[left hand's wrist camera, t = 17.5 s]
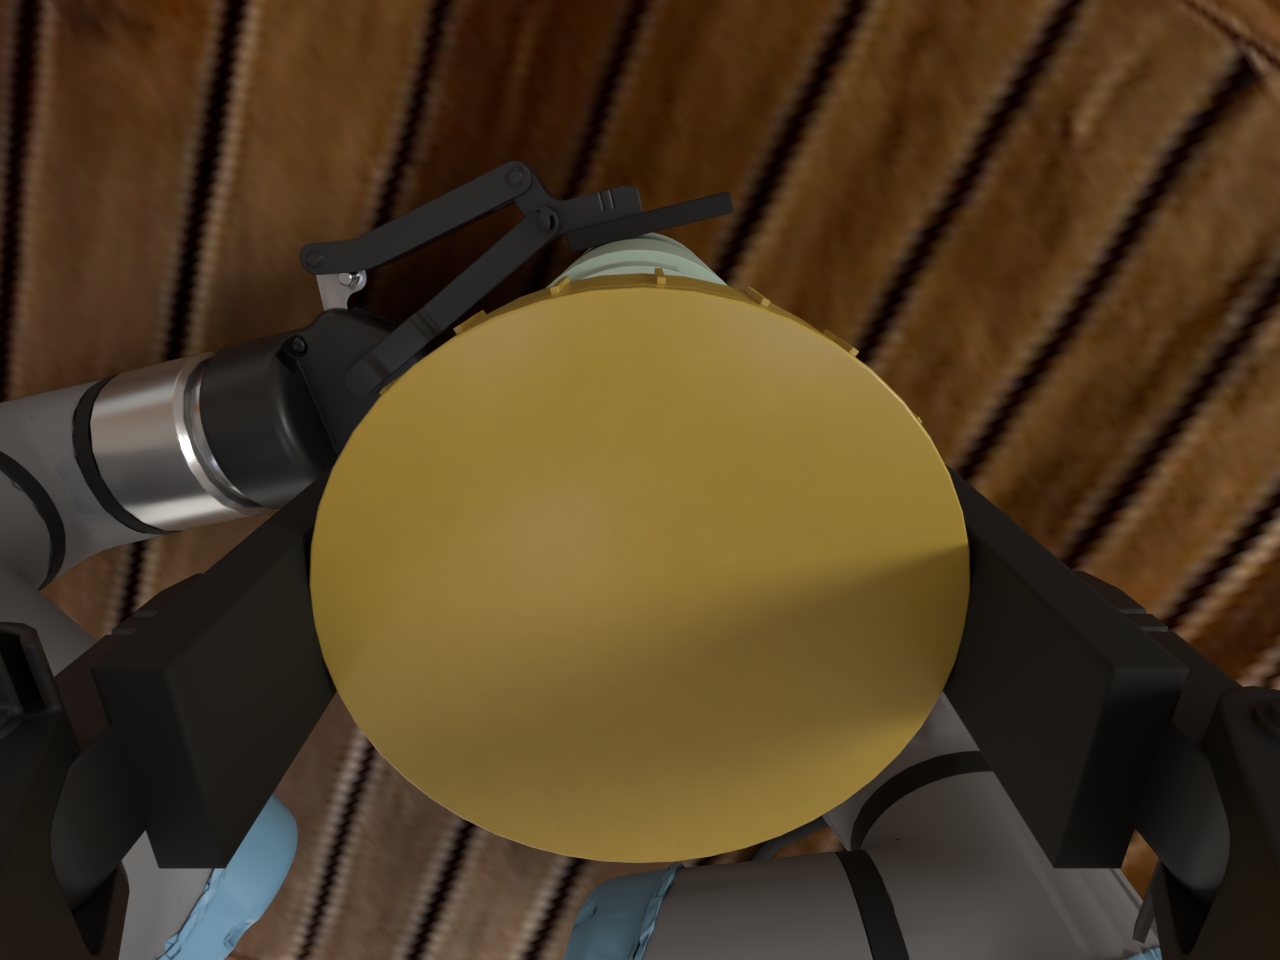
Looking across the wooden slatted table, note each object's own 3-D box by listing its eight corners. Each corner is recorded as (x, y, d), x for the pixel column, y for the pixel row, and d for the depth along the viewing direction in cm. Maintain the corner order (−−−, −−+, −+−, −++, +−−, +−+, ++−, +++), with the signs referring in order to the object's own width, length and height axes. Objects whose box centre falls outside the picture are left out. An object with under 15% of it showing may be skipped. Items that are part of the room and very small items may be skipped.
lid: (769, 136, 10) (801, 118, 8) (998, 648, 13) (1062, 726, 11) (239, 457, 11) (156, 509, 9) (553, 840, 14) (540, 938, 12)
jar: (677, 418, 38) (701, 558, 23) (535, 356, 37) (462, 463, 22) (746, 274, 35) (826, 327, 20) (595, 202, 34) (560, 202, 19)
